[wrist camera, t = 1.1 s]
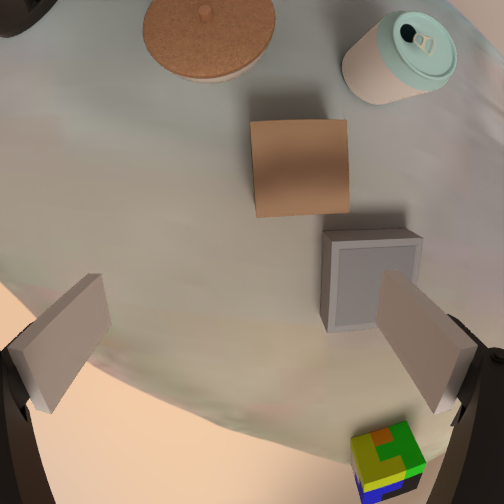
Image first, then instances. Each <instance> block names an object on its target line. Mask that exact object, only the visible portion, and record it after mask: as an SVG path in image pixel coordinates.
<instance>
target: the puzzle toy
mask: <svg viewBox="0 0 504 504" xmlns="http://www.w3.org/2000/svg"><path fill="white" fill-rule="evenodd" d="M425 464H426V461H425V459H424V457H423V455H422V453H421V451H420V448H419V446H418V444H417V442H416V440H415V438H414V436H413V434H412V432H411V430H410V428H409V426H408V424H407V422H406V421H404V422H401V423H398V424H395V425H392V426H389V427H386V428H383V429H380V430H377V431H374V432H371V433H367V434H364V435H361V436H357V437H354V438H351V466H352V469H353V473H354V477H355V481H356V484H357V488H358V491H359V495H360V499H361V503H362V504H374V503H377V502H380V501H383V500H386V499H389V498H392V497H395V496H398V495H400V494H403V493H406V492H409V491H411V490H414V489H416V488H417V486H418V484H419V481H420V478H421V476H422V473H423V470H424V467H425Z"/></svg>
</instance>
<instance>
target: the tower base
mask: <svg viewBox="0 0 504 504" xmlns="http://www.w3.org/2000/svg"><path fill="white" fill-rule="evenodd" d="M422 242H423V238H422V237H421V236H419V235H417V234H415V233H413V232H412V231H410V230H408V229H406V228H401V229H369V230H342V231H323V238H322V280H321V305H320V316H321V319H322V321H323V324H324V326H325V329H326V331H327V333H336V332H346V331H355V330H364V329H372V328H379V327H378V326H377V324H376V323H375V320H376V315H377V309H378V303H379V296H380V290H381V283H382V276H383V270H398V271H400V272H401V273H402V274H403V275H404V276H405V277H406V278H407V279H409V280H410V281H411V282H412V283H413V284H414V285H415V286H416V287H417V282H418V275H419V268H420V260H421V251H422Z"/></svg>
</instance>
